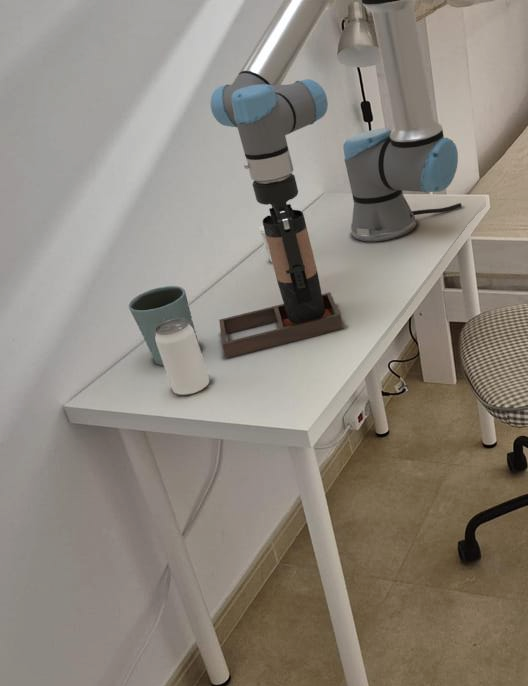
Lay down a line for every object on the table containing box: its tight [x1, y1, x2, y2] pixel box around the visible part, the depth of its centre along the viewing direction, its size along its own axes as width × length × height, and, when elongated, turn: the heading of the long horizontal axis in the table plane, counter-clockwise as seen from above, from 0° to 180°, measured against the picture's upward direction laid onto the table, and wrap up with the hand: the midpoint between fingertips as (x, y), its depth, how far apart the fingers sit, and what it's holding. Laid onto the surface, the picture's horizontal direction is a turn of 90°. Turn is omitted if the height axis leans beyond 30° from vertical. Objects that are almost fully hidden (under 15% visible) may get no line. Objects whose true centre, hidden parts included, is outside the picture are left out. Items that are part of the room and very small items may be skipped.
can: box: [155, 318, 210, 396], centre depth 149 cm, size 6×6×12 cm
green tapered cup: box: [128, 285, 201, 367], centre depth 161 cm, size 10×10×12 cm
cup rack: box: [218, 291, 344, 359], centre depth 166 cm, size 11×22×3 cm, turn 107°
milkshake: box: [258, 223, 272, 263], centre depth 197 cm, size 5×5×10 cm
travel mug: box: [262, 209, 325, 324], centre depth 162 cm, size 8×8×20 cm
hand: (301, 293), depth 165 cm, fingers closed on travel mug, 8 cm apart
